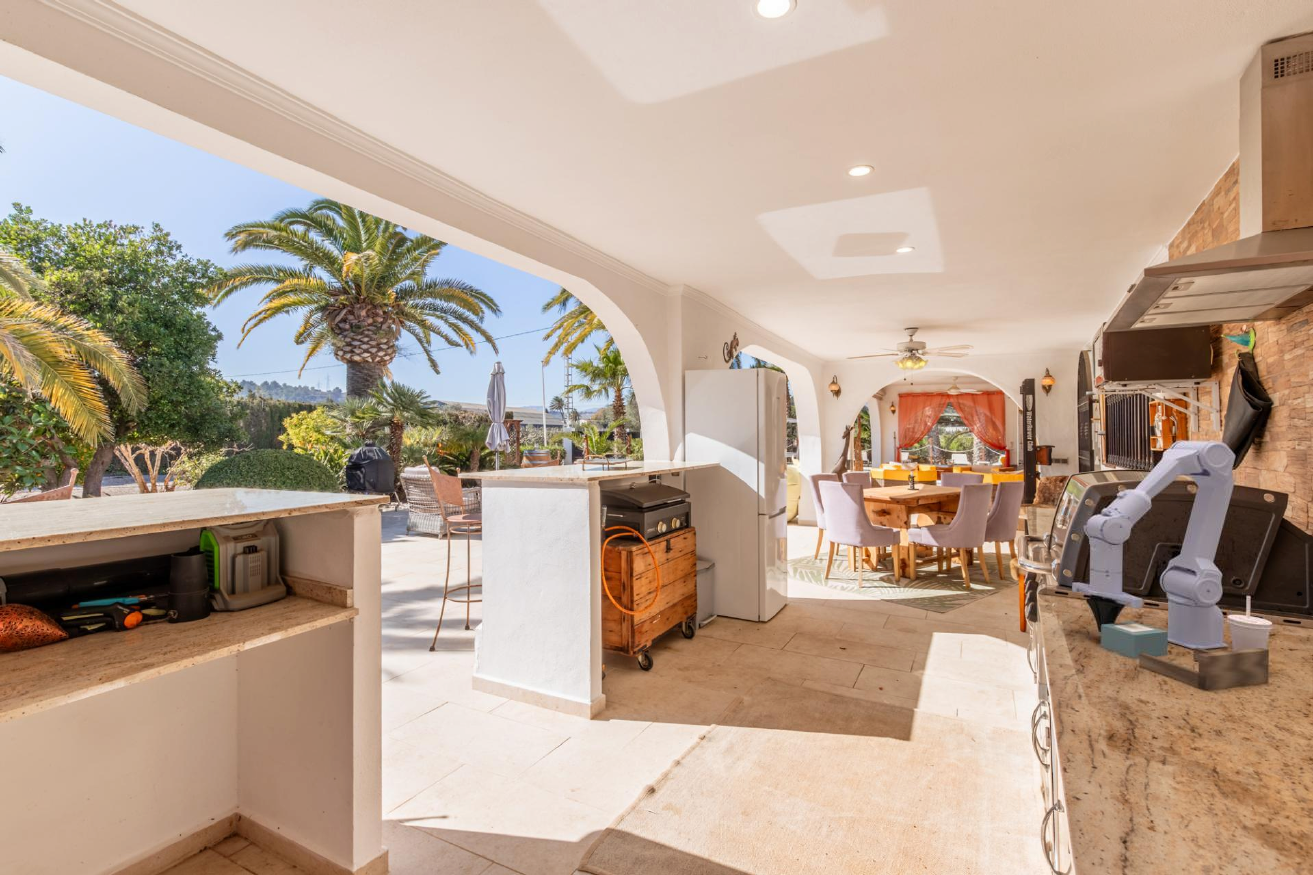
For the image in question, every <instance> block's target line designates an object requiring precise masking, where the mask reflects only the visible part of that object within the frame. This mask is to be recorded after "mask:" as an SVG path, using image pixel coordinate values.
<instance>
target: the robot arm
mask: <svg viewBox="0 0 1313 875" xmlns="http://www.w3.org/2000/svg"><path fill="white" fill-rule="evenodd" d="M1235 460H1236V454H1235V453H1234V452H1233V451H1232V449H1230V447H1229V445H1227V444H1226V443H1224V442H1222V441H1220V440H1211V441H1210V440H1209V441H1197V440H1195V441H1193V440H1185V439H1183V440H1178V441H1176V442H1174V443H1173V444H1171V445H1170V447H1169V448H1167V449H1166V450H1165V451H1164V452H1163V454H1162V458H1161V460H1160V461H1159V462H1158V463H1157V464H1156V465H1155V466H1154V468H1152V470H1151V471H1150V472H1149V473H1148V474H1147V475H1146V477H1144V478H1143V480H1141V482H1140V483H1138V485H1137V486H1136V488H1134V489H1125V490H1124V491H1119V492H1118V493H1117V494H1116V496H1117V497H1116V499H1114V500H1113V501H1112V502H1111V503H1110V504H1109V505H1108V506H1107V507H1106V508H1105V507H1104V508H1103V509H1102V510H1101V513H1100V514H1095V515H1093V516H1091V517H1090V518H1088V520H1087V522H1086V525H1083V530H1084V533H1085V535H1086V536H1087V537H1088V539H1089V540H1088V542H1089V546H1090V548H1089V549H1090V550H1089V555H1090V557H1089V584H1088V583H1083V582H1072V584H1071V586H1072V587H1071V591H1072V592H1075V593H1081V594H1084V595H1087V596H1090V597H1089V598H1086V599H1085V600H1086V604H1087V605H1088V606H1089V608H1090V610H1091V612H1092V614H1093V616H1094V619H1095V623H1096V627H1097V631H1098V633H1101V625H1104V624H1114V623H1116V620H1117V618H1118V616H1119V615H1120V613H1121V612H1122V610H1123V609H1124V608H1125V607H1126V606H1129V607H1130V608H1132V609H1142V608H1143V598H1141V597H1137V596H1134V595H1132V594H1129V593H1127V592H1124V591H1123V550H1124V549H1123V546H1124V544H1123V543H1124V542H1125V541H1127V540H1128V539H1129V538H1130V537H1131V533H1132V532H1131V531H1132V530H1131V529H1132V528H1133V527H1134V525H1135V524H1136V523H1137V522H1138V521H1139V520H1140V519H1141V518H1142V517H1143V516H1144V515H1145V514H1146V513H1147V512H1149V510H1150V509H1151V508H1152V499H1154V497H1155V496H1157V495H1158V494H1159V493H1160V492H1161V491H1163V490H1164V489H1165V488H1167V487H1168V486H1169V485H1170V484H1171V483H1173V482H1174V481H1175V480H1176V479H1177V478H1178V477H1180V476H1182V475H1183V476H1184V475H1185V476H1189V477H1190V478H1191V480H1192V481H1193V482H1195V484H1196V485H1197V491H1196V494H1195V496H1194V497H1195V498H1194V502H1193V506H1192V509H1191V513H1190V517H1189V520H1188V524H1187V528H1186V531H1185V535H1184V539H1183V543H1182V547H1181V549H1180V554H1178V555H1177V556H1175V557H1174V558H1172V559H1170V560H1169V561H1168V564H1167V567H1166V569H1164V571H1163V572H1162V573H1161V576H1159V577H1160V578H1159V584H1160V585H1159V586H1160V587H1161V589H1162V590H1163V591H1164V593H1166V598H1167V599H1168V601H1167V602H1168V603H1167V604H1168V608H1167V609H1168V610H1167V632H1168V642H1169V643H1172V644H1176V645H1178V646H1182V647H1185V648H1189V649H1191V650H1194V648H1197V647H1198V648H1202V649H1205V650H1208V649H1217V648H1219V649H1220V648H1227V647H1229V644H1227V643H1224V614H1223V612H1222V610H1221V609H1220V608H1219V606H1218V605H1216V603H1218V602H1219V601H1220V600H1221V598H1222V595H1223V586H1222V578H1223V573H1222V572H1221V571H1220V569H1219V568H1218V567H1217V566H1216V564H1215V563H1214V560H1215V557H1216V553H1217V549H1218V545H1219V543H1220V539H1221V538H1220V537H1221V534H1222V530H1223V528H1224V524H1225V520H1226V515H1227V511H1228V508H1229V504H1230V501H1231V497H1232V494H1233V490H1234V487H1235V486H1234V484H1235V478H1234V473H1233V466H1234V464H1235Z"/></svg>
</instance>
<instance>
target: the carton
mask: <svg viewBox="0 0 1313 875" xmlns="http://www.w3.org/2000/svg"><path fill="white" fill-rule="evenodd" d="M1168 642H1169V641H1168V630H1163V629H1160V628H1157V627H1153V626H1149V625H1146V624H1143V623H1138V622H1135V621H1127V622H1124V621H1123V622H1115V623H1114V624H1104V625H1101V632H1100V648H1102V649H1106V650H1107V649H1109V650H1108V651H1110V652H1114V653H1116V652H1117V653H1116V654H1119V655H1122V656H1124V657H1128V658H1130V659H1133V660H1136V659H1137V660H1139V653H1145V654H1148V655H1151V656H1155V657H1163V656H1162V655H1164V656H1168Z"/></svg>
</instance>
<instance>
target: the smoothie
mask: <svg viewBox="0 0 1313 875" xmlns="http://www.w3.org/2000/svg"><path fill="white" fill-rule="evenodd" d="M1245 604H1246V605H1245V606H1246V609H1245V610H1246V611H1245V615H1243V614H1242V615H1241V614H1229V615H1227V616H1226V617H1227V619H1226V622H1228V623H1229V624H1228V625H1229V631H1230V638H1231V645H1232V651H1235V650H1245V649H1254V648H1264V649H1267V647H1268V642H1269V637H1270V631H1271V630H1272V629H1273V628H1274V627H1273V622H1272V621H1270V620H1268V619H1265V618H1261V617H1256V616H1251V596H1250V595H1246V602H1245Z"/></svg>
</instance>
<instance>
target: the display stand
mask: <svg viewBox="0 0 1313 875" xmlns="http://www.w3.org/2000/svg"><path fill="white" fill-rule="evenodd" d="M1192 657H1193V659H1192V660H1193V661H1194V660H1195V661H1194V662H1197V663H1198V670H1195V669H1191V668H1190V667H1189V668H1188V667H1187V666H1183V665H1180V664H1178V663H1174V662H1173V661H1172V662H1171V661H1169V660H1166V659H1162V658H1160V657H1158V656H1155V657H1154V656H1151V655H1148V654H1145V653H1139V658H1138V667H1140V668H1143V669H1145V670H1148V671H1151V672H1153V671H1154V673H1156V674H1159V675H1162V676H1165V677H1168V678H1170V679H1172V680H1176V681H1179V682H1182V683H1184V684H1187V685H1190V686H1192V687H1194V688H1198V689H1200V690H1203V691H1213V690H1220V689H1221V690H1222V689H1229V688H1237V687H1245V686H1253V685H1260V684H1268V683H1269V671H1270V670H1269V667H1270V666H1269V663H1270V662H1269V661H1270V650H1269V649H1267V648H1266V649H1264V648H1254V649H1245V650H1235V651H1233V650H1227V651H1217V652H1214V651H1210V650H1208V649H1202V648H1198V647H1197V648H1194V649H1193V656H1192Z"/></svg>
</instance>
